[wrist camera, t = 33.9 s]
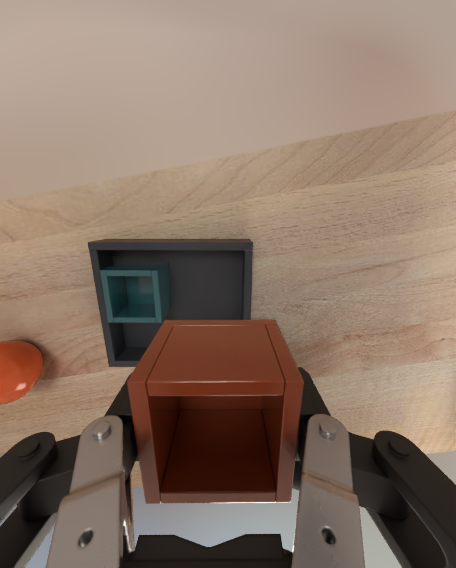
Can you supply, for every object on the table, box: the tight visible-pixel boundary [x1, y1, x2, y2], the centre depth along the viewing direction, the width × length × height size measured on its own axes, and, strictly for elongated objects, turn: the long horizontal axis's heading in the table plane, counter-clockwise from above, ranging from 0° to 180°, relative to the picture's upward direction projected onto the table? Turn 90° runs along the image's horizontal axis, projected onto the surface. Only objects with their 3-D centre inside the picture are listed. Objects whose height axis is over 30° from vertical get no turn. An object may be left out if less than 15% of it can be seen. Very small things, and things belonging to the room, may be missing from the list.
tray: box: [88, 239, 253, 367], centre depth 27 cm, size 15×17×4 cm
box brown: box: [127, 320, 304, 504], centre depth 10 cm, size 6×6×4 cm
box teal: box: [100, 262, 172, 323], centre depth 25 cm, size 6×6×4 cm
